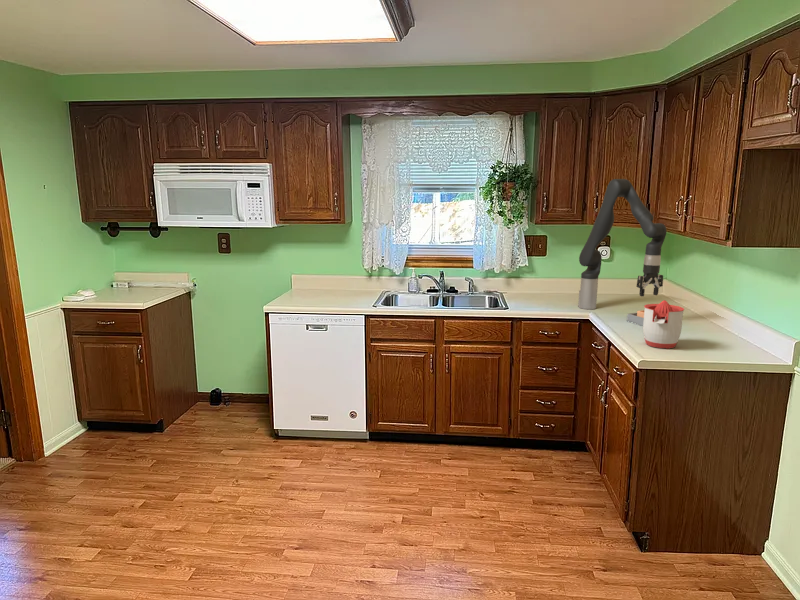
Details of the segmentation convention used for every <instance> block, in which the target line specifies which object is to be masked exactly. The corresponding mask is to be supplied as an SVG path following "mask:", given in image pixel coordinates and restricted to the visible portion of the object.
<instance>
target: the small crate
mask: <svg viewBox="0 0 800 600" xmlns="http://www.w3.org/2000/svg"><path fill="white" fill-rule="evenodd" d="M644 311H645V309H644V310H642V309H641V310H637V311H636V313H637V316H639V317H642V318H644Z"/></svg>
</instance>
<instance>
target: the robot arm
mask: <svg viewBox="0 0 800 600" xmlns="http://www.w3.org/2000/svg"><path fill="white" fill-rule="evenodd" d="M618 198H624V199H625V200H626V201H627V202H628V203H629V206H630V210H631V211H630V212H631V214H632V216H633V217H634V218H635V219H636V221H637V222H638V223H639V224H640V228H641V230H642V233H643V234H644V235H645V236H646V237H647V238H649V239H651V241H650V242H648V243H647V244H646V246H645V253H644V259H643V268H642V273H643V275H638V276H637V279H636V280H637V281H636V287H637V288H638V289H639V297H644V296H645V290H646V289H645V288H646V287H647V286H649V285H652V286H653V292H652V293H653V296H658V295H659V291H660V288H662V287H663V284H664V274H660V267H661V259H662V258H661V254H662V247H663V245H664V243H665V239H666V236H667V226H666V225H665V224H664V223H656V222H655V223H654V222H653V221H654V215H653V214H652V213H651V211H650V210H649V209H648V208H647V207H646V205H645V204H644V202H642V200H641V198H640V196H639V194H638V193H637V191H636V189H635V187H634V186H633V185H632V183H631V182H630V180H628V179H626V178H614V179H611V180H610V181H609V183H608V184H607V187H606V190H605V193H604V197H603V201H602V202H601V206H600V209H599V210H598V214H597V216H596V218H595V221H594V223H593V226H592V228H591V230H590V233H589V236H588V238H587V239H586V242H585V244H584V245H583V248H582V250H581V252H580V253H579V256H578V261H579V264H580V265H581V266H582V267H587V268H586V269H585V270H584V271H582V272H581V274H580V289H579V290H578V303H577V304H578V307H579V308H580V309H583V310H596V309H597V301H598V299H597V298H598V289H599V276H600V273H601V266H602V261H603V260H602V257H603V256H602V254H601V251H600V250H598V249H597V247H598V246H599V244H600V243H601V242H602V241H603V240H604V239H605V238H606V237H607V236H608V235H609V234H610V233H611V229H612V228H613V226H614V224H615V223H614V222H615V214H614V207H615V204H616V201H617V199H618Z"/></svg>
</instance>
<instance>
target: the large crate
mask: <svg viewBox="0 0 800 600" xmlns="http://www.w3.org/2000/svg"><path fill="white" fill-rule="evenodd" d="M626 315H627V316H626V317H627V318H626V322H628V321H629V322H628V323H631V322H633V323H632V324H634V323H636V324H635V325H637V324H639V325H638V326H641V325H642V326H641V327H643V322H644V318H642V317H639V316H637V312H632V313H631V312H629V313H627V314H626Z"/></svg>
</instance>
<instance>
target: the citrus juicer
mask: <svg viewBox="0 0 800 600" xmlns="http://www.w3.org/2000/svg"><path fill="white" fill-rule="evenodd" d="M643 306H644V310H645V311H644V322H643V326H642V332H643V337H644V338H643V339H644V342H645V344H646V345H647V346H649V347H651V348H653V347H654V348H658V349H665V348H666V349H667V350H668V349H669V350H670V349H671V348H675V347H676V346H677V344H678V342H679V340H680V337H681V335H682V334H681V332H682V329H683V328H682V326H683V317H684V311H685V308H684V307H682V306H679V305H675V304H669V302H668V301H667V300H664V299H663V300H662V301H661V302H660V303H647V304H645V305H643Z"/></svg>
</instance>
